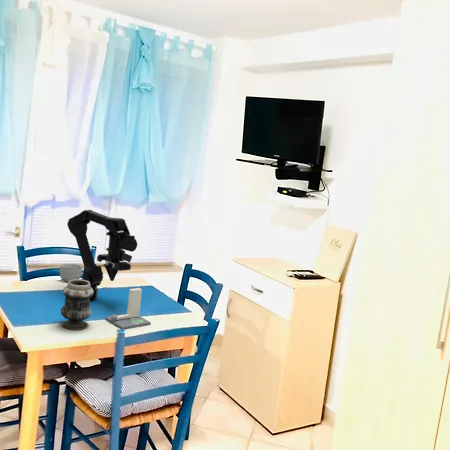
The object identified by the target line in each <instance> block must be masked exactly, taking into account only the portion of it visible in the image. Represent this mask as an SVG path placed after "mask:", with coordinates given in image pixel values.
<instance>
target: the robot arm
mask: <svg viewBox="0 0 450 450" xmlns="http://www.w3.org/2000/svg"><path fill="white" fill-rule="evenodd" d="M91 222H93V223H95V224H98V225H101V226H103V227H104V228H105V229H106V230H108V232H106V233H105V235H106V236H108V247H106V248H105V250H106V251H107V253H103V254H98V255H97V257H96V261H97V262H99V263H101V262H103V261H105V263H104V264H103V266H104V267H105V270H106V273H107V275H108V277H109V280H110V282H114V280H115V278H116V276H117V274H118V272H119V271H120V272H121V271H130V270H131V269H132V268H131V267H132V265H131V261H132V258H133V256H132V255H131V254H128V253H126V251H128V252H132V253H133V252H134V251H136V250H137V247H138V241H137V239H136V236H135V235H131V232H130V230H129V228H128V226H127V222H126V220H125V219H124V218H119V217H110V216H107V215H105V214H101V213H99V212H96V211H94V210H92V209H85V210H83V211H81V212H80V213H78V214H76V215H74V216H72V217H70V218H68V221H67V223H66V224H67V228H68V229H69V232H70V234H71V235H72V236H73V237H74V238H75V240H76V244H77V247H78V251H79V254H80V257H81V260H82V265H84V267H83V269H82V272H83V274H82V276H83V277H82V278H80V279H81V280H86V281H89V282H90V287H91V288H92V289H93V291H94V293H93V295H92V297H90V302H94V301H95V300H96V299H98V293H99V289H98V286H101V283H102V281H103V279H104V272H103V270H102V266H101V265H97V264H96V263H95V259H94V255H93V253H92V249H91V246H90V243H89V239H88V237H87V232H88V224H89V223H91Z"/></svg>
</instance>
